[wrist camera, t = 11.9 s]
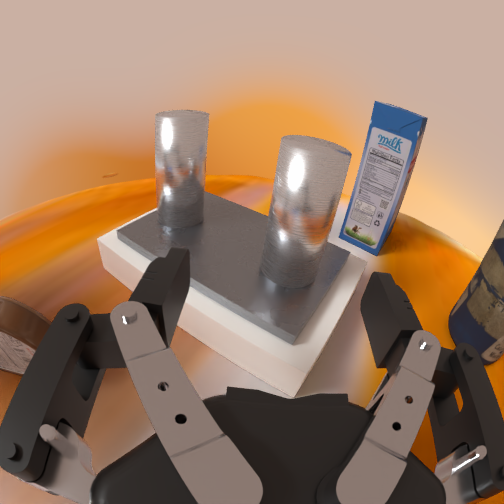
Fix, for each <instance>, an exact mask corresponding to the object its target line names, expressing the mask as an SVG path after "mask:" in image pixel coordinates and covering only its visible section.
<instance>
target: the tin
mask: <svg viewBox="0 0 504 504" xmlns="http://www.w3.org/2000/svg"><path fill="white" fill-rule="evenodd" d="M51 323H52V322H50V321H49V320H48V319H47V318H46V317H44V316H43V315H42V314H40V313H39V312H37V311H36V310H34V309H32V308H31V307H29V306H27V305H25V304H23V303H21V302H19V301H17V300H14V299H12V298H8V297H4V296H0V370H3V371H7V372H10V373H13V374H17V375H21V376H23V374H24V372H25V370H26V368H27V367H28V365H29V363H30V361H31V359H32V357H33V355H34V353H35V351H36V350H37V348H38V346H39V344H40V342H41V341H42V339H43V337H44V335H45V334H46V332H47V330H48V328H49V327H50V325H51Z"/></svg>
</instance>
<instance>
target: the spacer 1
mask: <svg viewBox="0 0 504 504" xmlns="http://www.w3.org/2000/svg"><path fill="white" fill-rule="evenodd" d="M208 123H209V114H208V113H206V112H202V111H193V110H173V111H165V112H161V113H157V114H156V116H155V164H156V194H157V213H158V220H159V222H160V223H161V224H163V225H165V226H168V227H171V228H188V227H192V226H195V225H197V224H198V223H200V222H201V221H202V220H203V218H204V195H205V172H206V154H207V137H208Z"/></svg>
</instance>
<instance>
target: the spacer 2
mask: <svg viewBox="0 0 504 504" xmlns="http://www.w3.org/2000/svg"><path fill="white" fill-rule="evenodd" d="M351 155H352V154H351V153H350V152H349V151H348V150H347V149H346V148H344V147H342V146H340V145H338V144H335V143H332V142H330V141H326V140H323V139H319V138H314V137H309V136H301V135H288V136H284V137H282V138H281V145H280V150H279V156H278V162H277V168H276V175H275V181H274V187H273V193H272V199H271V205H270V210H269V216H268V222H267V228H266V234H265V240H264V246H263V252H262V257H261V263H260V267H261V270H262V272H263V274H264V275H265V276H266V277H267V278H268V279H269V280H270V281H272V282H274V283H275V284H278V285H280V286H284V287H289V288H300V287H305V286H307V285H309V284H311V283H312V282H313V281H314V280H315V278H316V275H317V272H318V269H319V266H320V262H321V259H322V256H323V253H324V250H325V247H326V244H327V241H328V237H329V234H330V231H331V227H332V224H333V221H334V217H335V214H336V211H337V207H338V204H339V200H340V197H341V193H342V189H343V186H344V182H345V178H346V175H347V171H348V167H349V163H350V159H351Z"/></svg>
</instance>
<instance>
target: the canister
mask: <svg viewBox="0 0 504 504" xmlns="http://www.w3.org/2000/svg"><path fill="white" fill-rule="evenodd" d="M449 330H450V334H451V337H452V339H453V341H454V343H455V344H456V346H457V345H458V344H459V343H468V344H470V345H471V346H473V347H474V348H475V349H476V350H477V352H478V354H479V356H480V358H481V360H482V363H483V365H487V364H491V363H494V362H495V361H497V360H498V359H499V358H500V357H501V356H502V355H503V353H504V220H503V222H502V224H501V226H500V228H499V230H498V232H497V234H496V236H495V238H494V240H493V242H492V244H491V246H490V248H489V250H488V251H487V253H486V255H485V257H484V258H483V260H482V262H481V265H480V267H479V268H478V270H477V271H476V273H475V275H474V276H473V278H472V280H471V281H470V283H469V284H468V286H467V288H466V289H465V291H464V292H463V294H462V295H461V297H460V298H459V300H458V301H457V303H456V304H455V306H454V307H453V309H452V311H451V313H450V315H449Z"/></svg>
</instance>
